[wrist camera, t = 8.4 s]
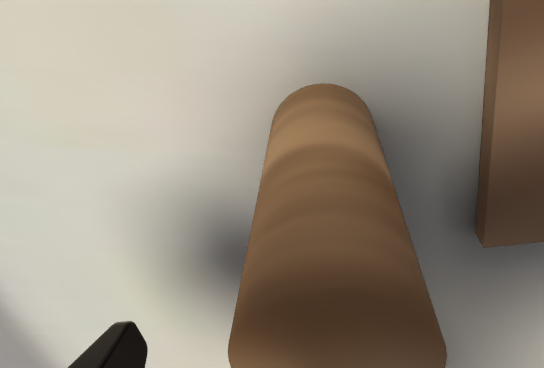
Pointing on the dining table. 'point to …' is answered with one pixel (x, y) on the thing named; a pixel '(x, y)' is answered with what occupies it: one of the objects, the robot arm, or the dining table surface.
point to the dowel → (330, 250)
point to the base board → (513, 127)
